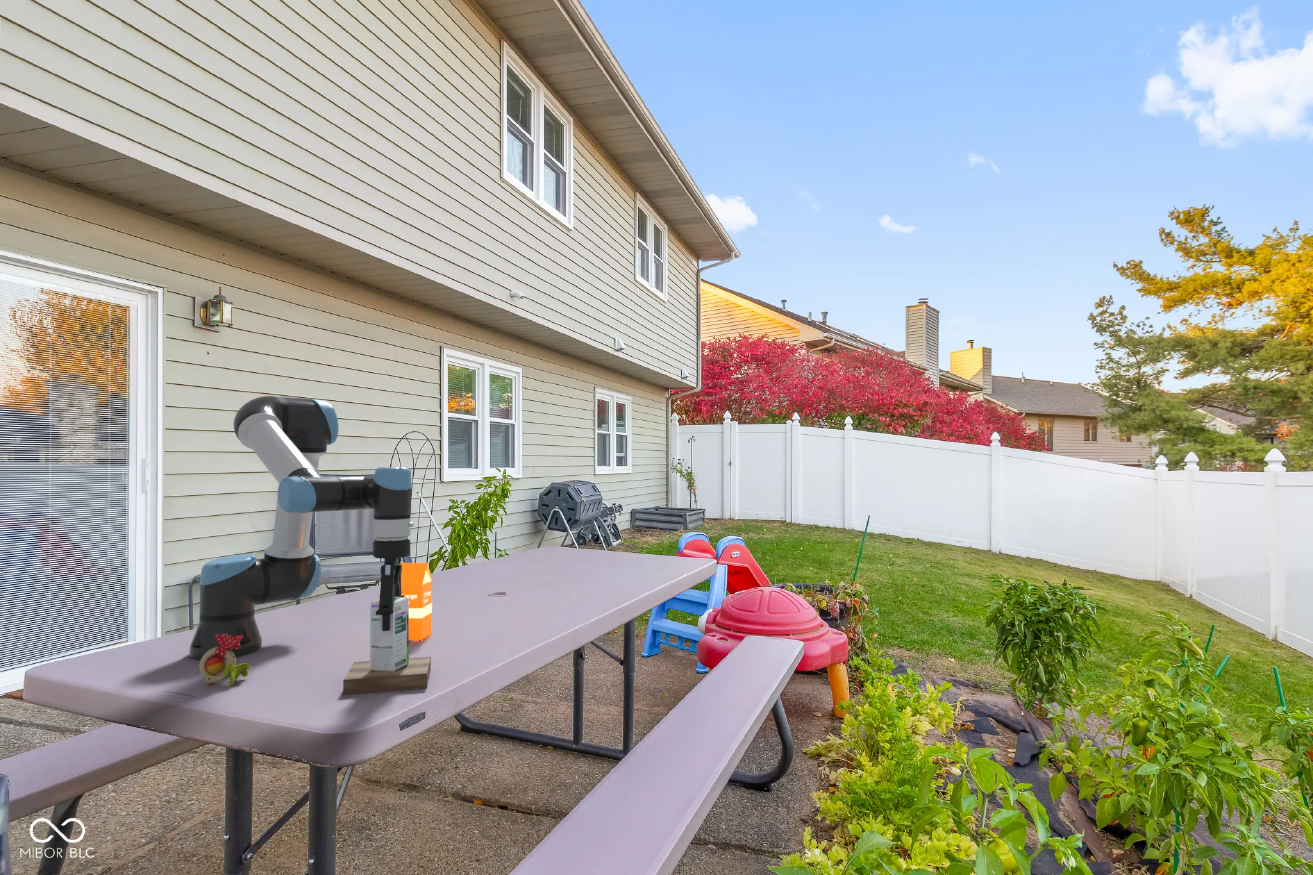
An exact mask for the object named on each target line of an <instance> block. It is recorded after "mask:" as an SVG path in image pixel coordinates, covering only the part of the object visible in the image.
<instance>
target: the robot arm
mask: <svg viewBox="0 0 1313 875" xmlns="http://www.w3.org/2000/svg"><path fill="white" fill-rule="evenodd" d="M233 430H234V434H235V436H236V438H237V439H238V440H239V442H240V443H241V444H242V445H243V446H245V448H248V449H250V450H252V451H253V452H254V453H255V455H256V456H257V457H258V458H259V460H260V461H261V462H262V464H263V465H264V466H265V467H266V469H267V470H268V472H269V473H270V474H271V475H272V477H273V478H274V480H276V481H277V483H278V487H277V500H276V506H275V507H276V509H275V518H274V526H273V532H272V534H273V535H272V542H271V544H270V545H269V546H267V547H266V548H265V549H264V553H263V555H264V557H263V558H257V556H256V554H253V553H244V554H235V555H229V556H228V555H227V556H223V557H220V558H215V559H212V560H210V561H208V562H205V564H203V566H202V568H201V571H200V580H199V585H200V587H199V588H200V589H199V620H198V626H197V628H196V631H195V634H194V635H193V639H192V641H191V643H190V646H189V657H190V658H191V659H194V660H201V659H202V657H203V656H204V654H205V653H206V652H207V651H209V650H210V649H212V648H215V647H219V646H220V645H219V643H218V642H217V640H216V638H215V636H216V635H217V634H221V635H222V634H223V633H226V634H227V635H228V636H238V635H243V637H242V639H241V640H240V642H239V644H240V648H239V649H233V648H232V652H233V653H234V655H235V657H236V658H237V657H241V656H245V655H249V654H253V653H255V652H257V651H259V650H261V648H262V647H263V646H262V644H263V643H262V642H263V640H262V636H261V633H260V630H259V627H258V625H257V621H256V619H255V618H256V617H255V607H256V606H258V605H265V604H271V603H279V602H281V603H282V602H287V601H296V600H300V599H304V598H308V597H310V596H311V595H312V594H313V593H314V592H315V591H316V590H317V588H318V586H319V584H320V581H321V575H322V567H321V564H322V563H321V559H320V558H319V556H318V555H317V554H315V549H314V548H313V547H312V546H311V545H310V538H311V530H312V521H313V515H314V514H313V513H319V512H338V511H340V512H341V511H342V512H343V511H358V510H359V511H360V510H372V511H373V519H372V520H373V521H372V522H373V525H372V528H373V529H372V537H373V538H375V540H374V541H373V542H372V557H373V558H374V559H382V560H384V562H383V563H384V564H382V565H381V566H380V575H381V576H380V590H379V599H378V600H379V609H378V611H376V615H380V619H379V647H386V646H393V645H394V613H393V612H394V610H393V607H394V597H404V595H401V594H402V591H401V572H402V564H401V563H402V559H403V558H406V557H409V556H411V540H410V538H409V537H410V536H411V528H412V527H414V522H410V521H411V517H412V516H411V515H412V494H413V493H412V490H413V489H412V488H413V484H412V471H411V469H410V468H409V467H404V466H403V467H396V466H395V467H394V466H393V467H392V466H391V467H385V466H384V467H380V466H379V467H376V469H375V471H374V474H373V475H368V474H367V475H349V476H348V475H342V476H338V475H335V476H334V475H333V476H330V475H329V476H328V475H324V476H323V475H321V474H320V473H319V471H318V470H319V462H320V458H321V457H322V456H324V455H325V454H326V453H327V450H328V446H330V445H333V444H334V443H335V442H337V438H338V436H339V432H340V431H339V430H340V428H339V419H338V415H337V412H336V410H335V409H334V406H333V405H331V403H329V402H327V401H325V400H320V399H314V398H303V397H299V398H298V397H285V396H274V395H265V396H260V397H256V398H253V399H250V400H249V401H247V402H246V403H244V404H243V405H241V407H240V408H239V409H238V410H237V412H236V414H235V416H234V419H233ZM215 656H218V655H214V656H213V657H215Z"/></svg>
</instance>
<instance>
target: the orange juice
mask: <svg viewBox="0 0 1313 875" xmlns="http://www.w3.org/2000/svg"><path fill="white" fill-rule="evenodd" d="M401 564H402V572H401V591H402V594H401V595H404V597H405V598H409V640H414V641H413V642H422V641H424V640H425V639H427V636H428V637H429V636H431V635H432V624H433V623H432V621H433V620H432V616H433V613H432V612H433V579H432V576H431V571H430V568H429V564H428V562H401ZM424 638H425V639H424ZM423 639H424V640H423ZM419 640H421V641H419Z"/></svg>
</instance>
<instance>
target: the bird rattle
mask: <svg viewBox="0 0 1313 875" xmlns="http://www.w3.org/2000/svg"><path fill="white" fill-rule="evenodd" d="M242 637H243V635H238V636H228V635H227V634H226V633H223V634H222V635H221V634H217V635H216V636H215V638H216V640H217V642H218V643H219V645H220V646H219V647H215V648H212V649H210V650H209V651H207V652H206V653H205V654H204V656H203V657H202V659H200V660H199V672H200V674H201V676H202V678H203V679H204V680H205V683H206V685H208V686H210V685H212V684H215V683H219V682H220V683H221V682H224V681H225V680H228V679H229V680H228V685H229V686H230V687H232V686H234V683H235V681H236V680H238V678H239V677H240V675H241V676H242V677H247V676H249V675H248V674H249V672H248V670H249V669H250V667H251V666H250V664H249V663H245V662H243V663H239V664H237V657H235V655H234V653H233V652H232V648H233V649H239V648H240V644H239V642H240V640H241V639H242ZM214 655H218V656H215V657H213V656H214Z"/></svg>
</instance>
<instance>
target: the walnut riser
mask: <svg viewBox="0 0 1313 875" xmlns="http://www.w3.org/2000/svg"><path fill="white" fill-rule="evenodd" d="M431 662H432V657H431V656H420V657H409V663H408V664H407V665H405V666H403V667H401V668H399V669H397V670H395V671H394V672H392V671H375V670H371V669H370V660H364V661H354V662H352V665H351V667H350V668H349V670H348V672H347V673H346V674H345V677H344V678H343V680H342V682H343V684H342V695H343V696H346V695H347V696H348V695H358V694H359V695H360V694H361V695H362V694H368V693H369V694H370V693H371V694H373V693H380V692H381V693H384V692H394V691H395V692H396V691H407V690H416V689H415V688H421V689H427V688H428V684H429V680H430V674H431V670H432V669H431V665H432V663H431Z"/></svg>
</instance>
